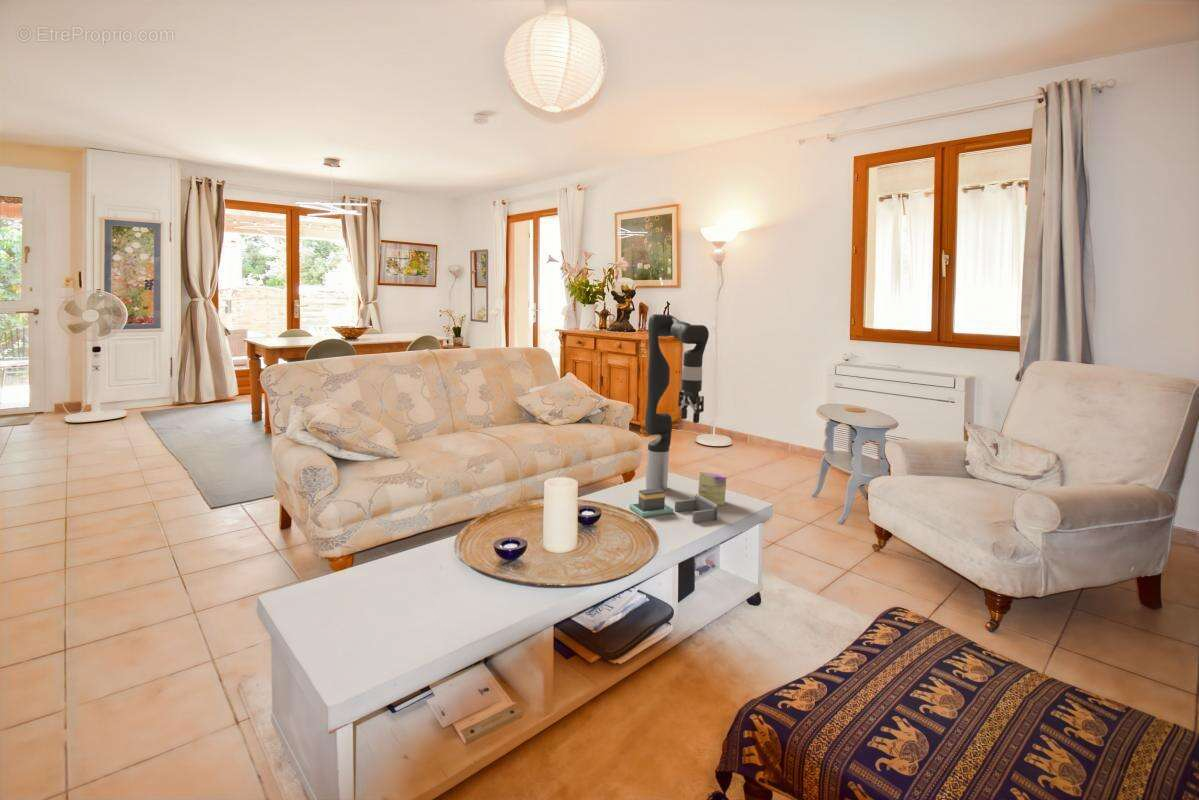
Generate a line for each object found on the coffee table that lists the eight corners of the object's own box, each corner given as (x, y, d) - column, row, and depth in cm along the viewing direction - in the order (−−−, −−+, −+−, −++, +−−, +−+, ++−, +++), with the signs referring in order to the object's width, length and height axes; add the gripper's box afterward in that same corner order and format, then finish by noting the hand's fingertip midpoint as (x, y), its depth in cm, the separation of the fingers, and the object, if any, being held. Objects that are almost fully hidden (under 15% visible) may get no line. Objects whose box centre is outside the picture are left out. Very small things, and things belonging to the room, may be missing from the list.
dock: (674, 510, 231) (675, 496, 230) (696, 508, 235) (697, 494, 234) (694, 523, 219) (694, 507, 218) (716, 519, 223) (717, 505, 222)
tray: (629, 508, 232) (629, 504, 232) (659, 504, 238) (659, 500, 237) (642, 517, 223) (642, 512, 222) (673, 513, 228) (673, 508, 228)
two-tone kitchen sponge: (658, 506, 234) (659, 488, 233) (664, 510, 230) (665, 491, 229) (638, 508, 230) (638, 490, 229) (643, 512, 226) (644, 493, 225)
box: (723, 500, 245) (725, 473, 243) (724, 505, 239) (726, 477, 237) (697, 499, 246) (699, 471, 244) (698, 503, 240) (700, 475, 238)
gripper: (711, 380, 218) (708, 423, 220) (690, 376, 230) (688, 416, 233) (693, 380, 215) (691, 424, 217) (673, 376, 227) (671, 417, 230)
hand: (689, 420), depth 225 cm, fingers open, 8 cm apart
